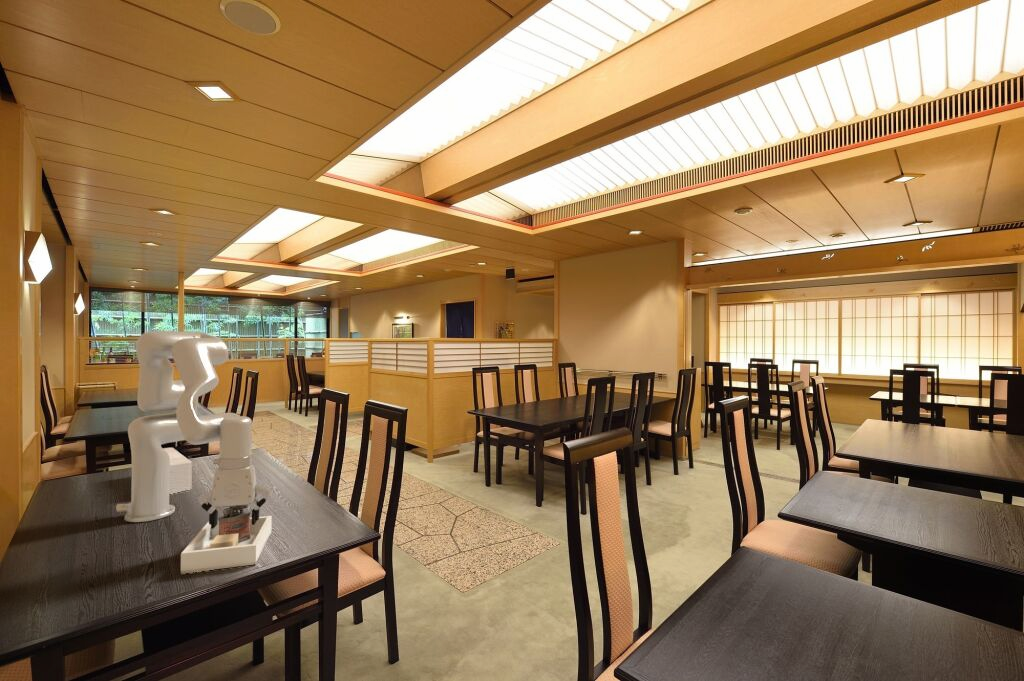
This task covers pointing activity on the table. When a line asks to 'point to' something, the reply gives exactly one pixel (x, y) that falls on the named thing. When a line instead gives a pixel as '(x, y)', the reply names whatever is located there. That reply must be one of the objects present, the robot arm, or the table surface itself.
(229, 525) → the lighter
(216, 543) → the cube
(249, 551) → the tote
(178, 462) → the white long block
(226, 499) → the robot arm
